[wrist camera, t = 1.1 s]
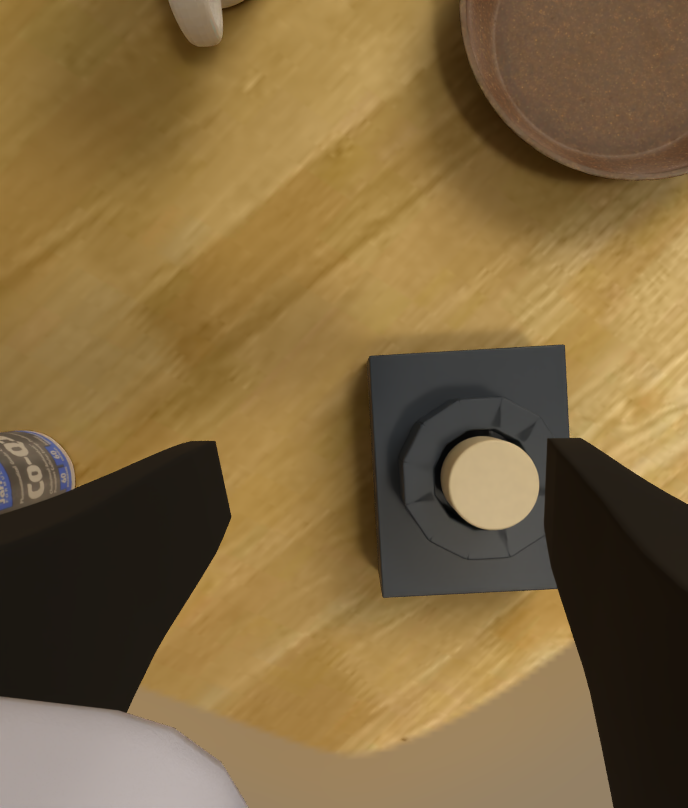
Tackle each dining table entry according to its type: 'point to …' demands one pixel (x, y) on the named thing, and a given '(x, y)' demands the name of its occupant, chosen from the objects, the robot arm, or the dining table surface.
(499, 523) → the cylindrical peg
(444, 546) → the dark knob button block
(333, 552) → the dining table surface
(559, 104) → the saucer
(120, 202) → the dining table surface
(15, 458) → the pill bottle
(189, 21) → the cup
